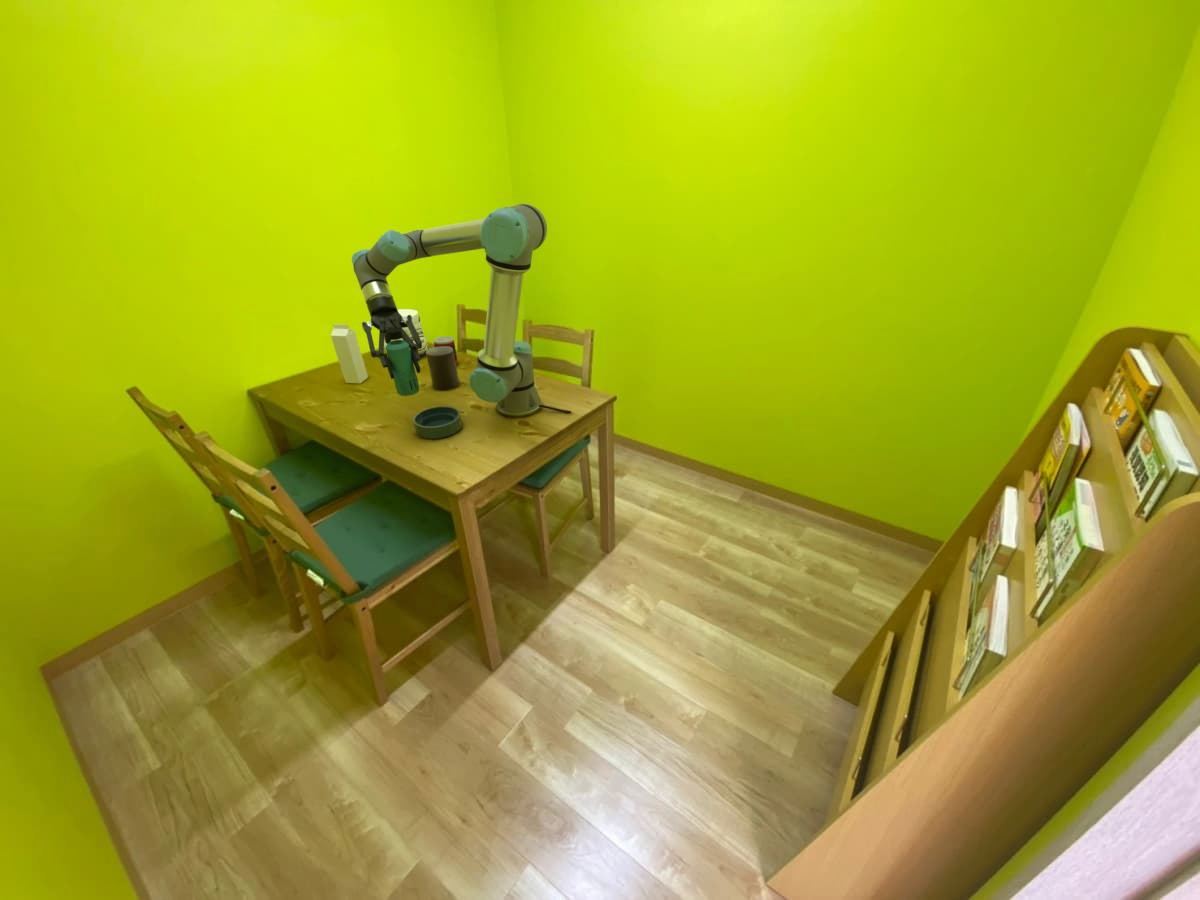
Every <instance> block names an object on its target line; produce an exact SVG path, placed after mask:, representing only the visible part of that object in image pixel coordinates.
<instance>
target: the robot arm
mask: <svg viewBox="0 0 1200 900" xmlns="http://www.w3.org/2000/svg"><path fill="white" fill-rule="evenodd" d="M547 235H548V224H547V221H546V218H545V216H544V214H543V212H542V211H541V210H540V209H538V208H537V207H536V206H534V205H531V204H527V203H520V204H516V205H511V206H504V207H503V206H502V207H500V208H497V209H495V210H494V211H492V212H490V213H489V214H488V215H487V216H486V217H485V218H479V219H476V220H475V219H474V220H468V221H465V222H464V221H463V222H458V223H452V224H446V225H441V226H436V227H431V228H425V229H415V230H412V231H409V232H405V233H401V232H400V231H396V230H394V229H389V230H387V231H386V232H384V233H383V234H382V235H381V236H380V237H379V238H378V240H377V241H376V242H375V244H374V245H373V246H372V247H371V248H370V249H367V248H365V249H360V250H358V251H355V252H354V253H353V254H352V256H351V264H352V268H353V272H354V274H355V276H356V279H357V282H358V285H359V287H360V290H361V292H362V295H363V298H364V302H365V304H366V307H367V309H368V313H369V316H370V321H362V322H361V327H362V330H363V331H364V333H365V336H366V339H367V342H368V347H369V352H370V356H371V358H378V359H379V361H380V364H381V366H382V368H384V369H385V368H387V371H388V374H389V376H390V379H391V380H392V379H393V378H394V374H393V371H392V368H391V365H390V362H389V358H388V355H387V353H385V346H384V337H385V333H386V331H387V330H390V329H400V330H401V333H402V335H403V337H402V339H403V340H404V341H405V342H407V343H408V344H409V348H410V352H411V356H412V358H413V362H414V363H413V364H414V368H415V371H416V374H421V366H420V364H419V362H420V361H421V356H420V355H419V353H418V349H421V348H422V342H421V340H420V338H419V335H418V333H417V331H416V329H415V327H414V325H413V323H412V316H411V315H408V316H407V317H406V316H401V315H400V314H399V312H398V310H399V309H398V308H397V305H396V302H395V299H394V297H393V296H394V295H393V293H392V291H391V288H390V286H389V283H388V280H387V277H388V276H389V275H390V274H391V273H392V272H394V270H395V269H396V268H397V267H398V266H401V265H404V264H406V263H409V262H413V261H415V260H420V259H425V258H431V257H436V256H442V255H444V256H445V255H450V254H457V253H462V252H464V253H465V252H469V251H470V252H471V251H478V250H483V249H484V252H485V261H486V263H487V264H488V265H489V267H490V276H489V284H488V285H489V286H488V297H487V308H486V318H485V319H486V320H485V330H484V340H483V342H484V343H483V348H482V349H480V350H479V351H478V352H477V359H476V368H474V369H473V370H472V371H471V373H470V376H469V378H468V379H469V382H468V383H469V386H470V388H471V390H472V392H473V393H474V394H475V395H476V396H477V398H478V399H480V400H481V401H484V402H487V403H491V404H493V403H494V404H495V403H496V410H497V412H498V413H499V414H500V415H502V416H504V417H508V418H509V417H510V418H524V417H529V416H532V415H534V414H536V413H538V412H539V411H540V410H541V409H542V408H544V409H547V410H552V411H556V412H560V413H566V414H571V413H572V411H571V410H567V409H563V408H562V409H561V408H557V407H553V406H549V405H544V404H542V400H541V399H542V398H541V397H540V394H539V392H538V390H537V388H536V385H535V377H534V375H535V374H534V363H533V362H534V361H533V352H532V346H531V345H530V344H529V343H528V342H525V341H521V340H516V335H517V327H518V320H519V314H520V313H519V312H520V305H521V296H522V289H523V282H524V275H525V273H527V272H528V271H530V270H531V265H532V261H533V260H532V257H533V251H536V250H537V249H539V248H540V247H541V246H542V245H543V243H544V242H545V240H546V238H547ZM402 321H404V323H405V324H406V325H408V329H409V331H410V333H411V335H412V337H413V339H414V341H415V343H416V344H415V343H414V342H413V341H412V340H411V339H410V337H409V336H408V335H407V334H406V332H405V331H404V330H403V329H402V327H401V326H400V324H401V322H402ZM373 328H375V329H377V330H378V332H379V334H378V349H377V350H376V347H375V344H374V339H373V335H372V329H373ZM393 380H394V379H393Z"/></svg>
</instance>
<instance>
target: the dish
mask: <svg viewBox="0 0 1200 900" xmlns="http://www.w3.org/2000/svg"><path fill="white" fill-rule="evenodd" d="M412 423H413V426H414V427H413V428H414V430H415V433H416V434H417V436H419V437H421V438H422V439H423V438H424V439H429V440H430V439H441V438H442V439H443V438H447V437H449V436H452V435H454V434H456V433H457V432H458V431H460V430H461V429H462V427H463V422H462V416H461V412H460V410H458V409H457V408H456V407H453V406H447V405H445V406H444V405H443V406H442V405H441V406H440V405H439V406H433V407H429V408H426V409H423V410H421V411H420V412H418V413H416V414H415V415H414V417H413V419H412Z"/></svg>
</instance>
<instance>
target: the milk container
mask: <svg viewBox="0 0 1200 900" xmlns="http://www.w3.org/2000/svg"><path fill="white" fill-rule="evenodd" d="M397 310H398V312H399V314H400V315H401V316H406V317H407V316H408V315H411V316H412V323H413V325H414V327H415V329H416V331H417V333H418V335H419V338H420V340H421V342H422V348H421V349H418V353H419V355H420V357H422V356H423V355H425V354H426V351H427V350H429V348H428V347H429V346H428V339H427V337H426V335H425V334H424V331H423V326H422V321H421V317H420V315H419V312H418V310H416V309H413V308H412V309H410V308H402V309H401V308H399V309H397ZM400 326H401V327H402V329H403V330H404V331H405V332H406V334H407V335H408V336H409V337H410V339H411V340H412V341H413V342H414V343H415V341H414V339H413V337H412V335H411V333H410V331H409V329H408V325H406V324H405V323H404V321H402V322H401V324H400ZM397 340H403V339H402V338H400V339H397ZM390 341H393V340H388V339H387V335H386V333H385V337H384V351H385V352H386V353H387V351H386V345H387V344H388V343H389V342H390ZM403 341H404V340H403ZM415 344H416V343H415Z"/></svg>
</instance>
